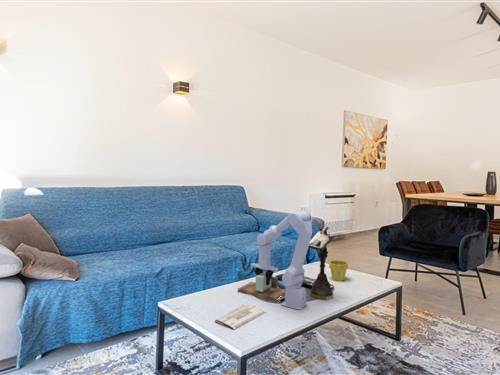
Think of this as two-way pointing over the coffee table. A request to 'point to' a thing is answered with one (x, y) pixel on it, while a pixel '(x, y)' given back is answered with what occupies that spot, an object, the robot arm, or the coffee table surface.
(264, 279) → the pale green rectangular block
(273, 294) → the shelf board
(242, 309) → the newspaper
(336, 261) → the plant pot
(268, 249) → the robot arm
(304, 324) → the coffee table surface
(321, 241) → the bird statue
